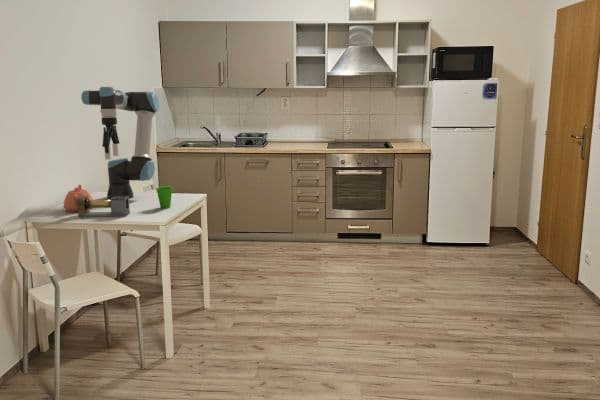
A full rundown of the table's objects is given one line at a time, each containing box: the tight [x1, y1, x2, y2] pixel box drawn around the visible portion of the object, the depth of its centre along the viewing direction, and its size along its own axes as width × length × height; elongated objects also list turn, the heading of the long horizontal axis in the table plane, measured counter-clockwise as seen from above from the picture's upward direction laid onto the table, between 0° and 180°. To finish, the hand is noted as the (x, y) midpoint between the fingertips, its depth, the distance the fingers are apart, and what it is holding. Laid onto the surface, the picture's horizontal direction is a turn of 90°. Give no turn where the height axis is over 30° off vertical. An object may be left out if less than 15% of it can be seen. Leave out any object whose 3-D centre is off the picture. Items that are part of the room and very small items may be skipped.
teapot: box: [63, 184, 94, 213], centre depth 297 cm, size 22×15×12 cm
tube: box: [84, 199, 111, 209], centre depth 283 cm, size 5×16×5 cm, turn 92°
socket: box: [77, 195, 91, 218], centre depth 283 cm, size 8×3×10 cm, turn 2°
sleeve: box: [109, 196, 131, 216], centre depth 284 cm, size 7×8×9 cm
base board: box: [81, 211, 129, 218], centre depth 284 cm, size 8×24×1 cm, turn 92°
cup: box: [155, 186, 174, 210], centre depth 300 cm, size 9×9×11 cm
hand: (112, 157), depth 288 cm, fingers open, 13 cm apart
